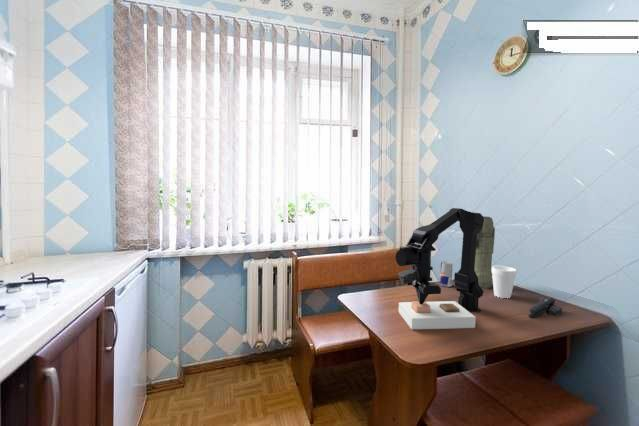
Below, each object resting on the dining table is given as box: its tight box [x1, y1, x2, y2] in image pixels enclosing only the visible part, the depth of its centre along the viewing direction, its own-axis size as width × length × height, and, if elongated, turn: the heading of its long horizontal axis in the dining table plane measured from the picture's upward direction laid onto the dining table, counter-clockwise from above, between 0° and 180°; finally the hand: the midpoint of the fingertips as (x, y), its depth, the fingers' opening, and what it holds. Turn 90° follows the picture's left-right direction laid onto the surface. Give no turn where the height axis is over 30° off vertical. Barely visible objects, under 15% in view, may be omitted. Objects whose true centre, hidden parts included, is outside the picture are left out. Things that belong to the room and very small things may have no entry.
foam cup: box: [491, 265, 518, 300], centre depth 130 cm, size 10×9×13 cm
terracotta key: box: [411, 300, 430, 313], centre depth 107 cm, size 5×5×4 cm
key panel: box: [398, 300, 477, 330], centre depth 108 cm, size 23×14×4 cm, turn 93°
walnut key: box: [440, 304, 459, 312], centre depth 108 cm, size 5×5×4 cm
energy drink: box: [439, 260, 453, 288], centre depth 144 cm, size 5×5×12 cm
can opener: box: [528, 297, 563, 320], centre depth 113 cm, size 18×7×6 cm, turn 116°
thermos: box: [474, 215, 496, 289], centre depth 143 cm, size 9×12×35 cm
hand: (421, 303), depth 107 cm, fingers closed, pressing on terracotta key
